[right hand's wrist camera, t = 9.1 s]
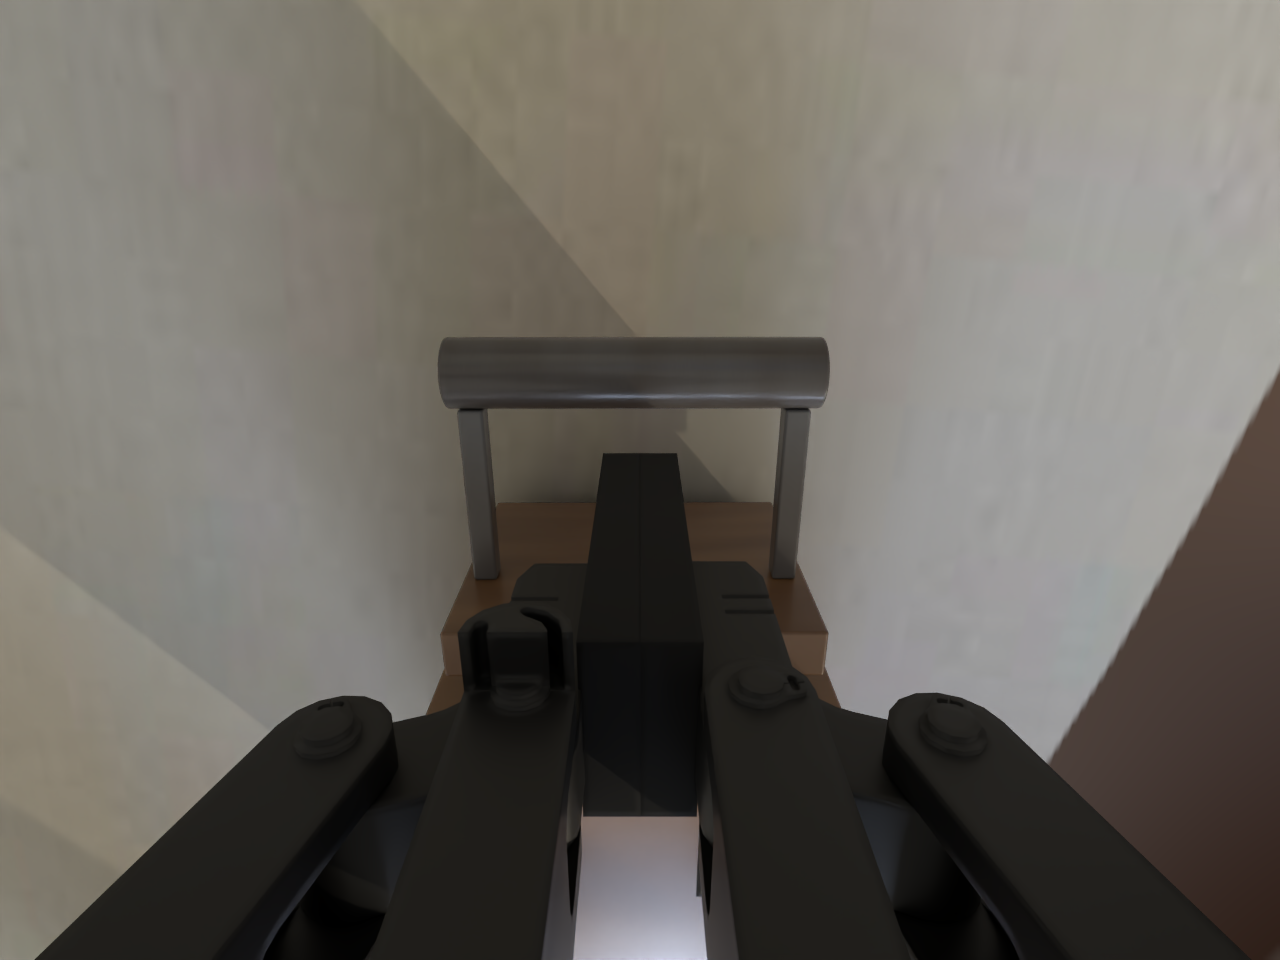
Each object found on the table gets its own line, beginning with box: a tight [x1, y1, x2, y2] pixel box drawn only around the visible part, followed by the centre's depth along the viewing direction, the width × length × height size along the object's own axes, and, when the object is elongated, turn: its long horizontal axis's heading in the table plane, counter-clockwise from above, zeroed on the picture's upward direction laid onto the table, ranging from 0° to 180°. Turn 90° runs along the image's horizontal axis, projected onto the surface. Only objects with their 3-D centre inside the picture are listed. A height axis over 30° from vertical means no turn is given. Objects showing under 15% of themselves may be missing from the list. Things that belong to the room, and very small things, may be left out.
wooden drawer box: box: [426, 666, 841, 960], centre depth 24 cm, size 19×10×9 cm, turn 0°
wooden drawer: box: [438, 337, 830, 676], centre depth 21 cm, size 24×9×7 cm, turn 0°
